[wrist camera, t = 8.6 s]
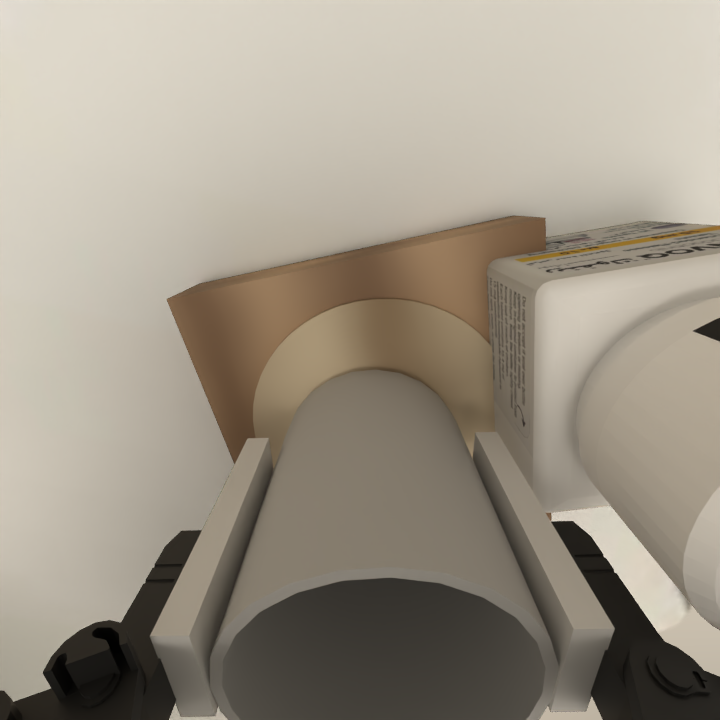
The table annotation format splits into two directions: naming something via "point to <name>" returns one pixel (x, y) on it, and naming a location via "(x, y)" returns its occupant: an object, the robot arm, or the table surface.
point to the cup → (379, 575)
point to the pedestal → (352, 327)
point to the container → (619, 385)
